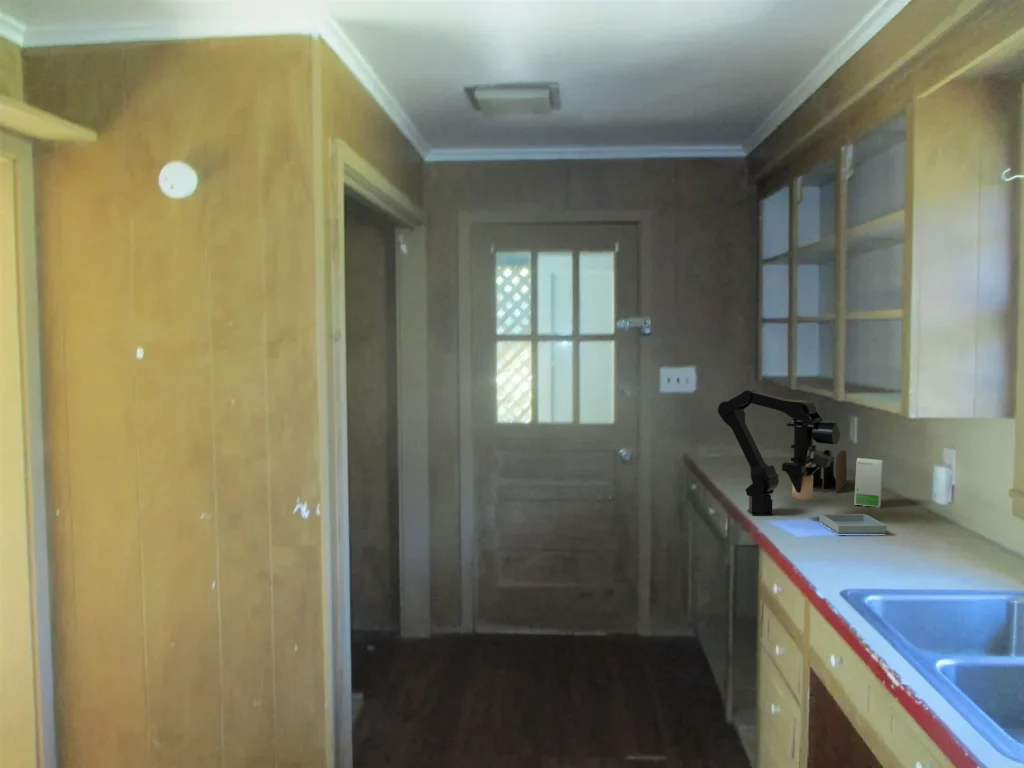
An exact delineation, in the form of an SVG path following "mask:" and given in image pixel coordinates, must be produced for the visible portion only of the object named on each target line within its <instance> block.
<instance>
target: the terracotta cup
mask: <svg viewBox="0 0 1024 768" xmlns="http://www.w3.org/2000/svg"><path fill="white" fill-rule="evenodd" d="M791 493H792V494H791V495H792V496H791V497H792V498H793V499H797V500H812V499H814V491H813V475H810V474H805V475H804V476H803V481H802V487H801V492H800V493H797V492H796V490H795V488H794V486H793V485H792V492H791Z"/></svg>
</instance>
